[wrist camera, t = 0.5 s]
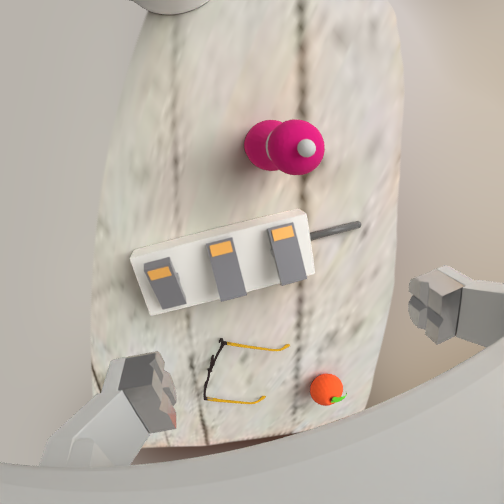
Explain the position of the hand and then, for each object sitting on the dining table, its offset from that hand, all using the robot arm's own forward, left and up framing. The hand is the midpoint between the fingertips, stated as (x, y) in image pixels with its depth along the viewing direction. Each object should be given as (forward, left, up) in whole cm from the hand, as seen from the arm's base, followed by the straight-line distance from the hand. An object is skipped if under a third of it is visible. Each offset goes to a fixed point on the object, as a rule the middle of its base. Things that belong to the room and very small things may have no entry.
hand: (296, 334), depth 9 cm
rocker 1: (+12, -10, -35) cm, 39 cm away
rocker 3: (+12, +8, -35) cm, 38 cm away
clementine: (+46, +13, -42) cm, 63 cm away
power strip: (+13, +4, -41) cm, 43 cm away
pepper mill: (-3, +9, -42) cm, 43 cm away
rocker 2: (+12, -1, -35) cm, 37 cm away
